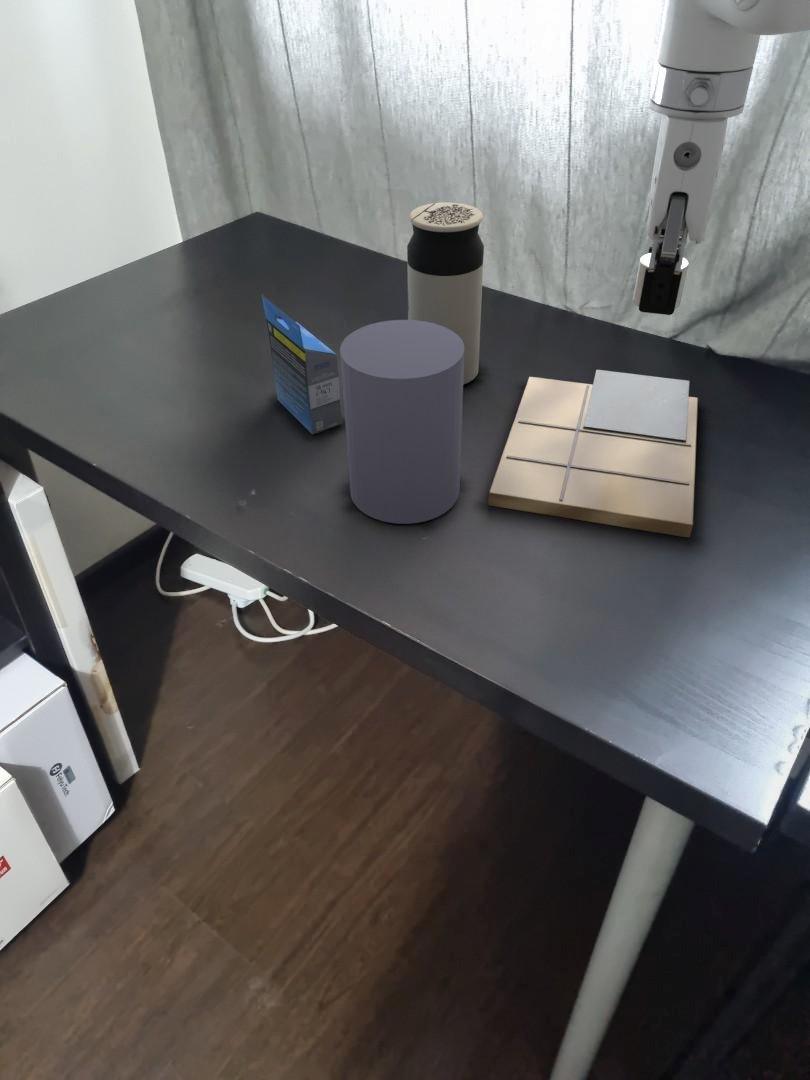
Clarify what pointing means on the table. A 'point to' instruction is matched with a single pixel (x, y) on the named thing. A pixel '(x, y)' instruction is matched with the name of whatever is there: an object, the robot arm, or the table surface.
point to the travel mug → (448, 273)
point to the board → (603, 452)
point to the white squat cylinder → (643, 265)
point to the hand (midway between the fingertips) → (657, 298)
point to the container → (403, 418)
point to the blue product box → (303, 372)
